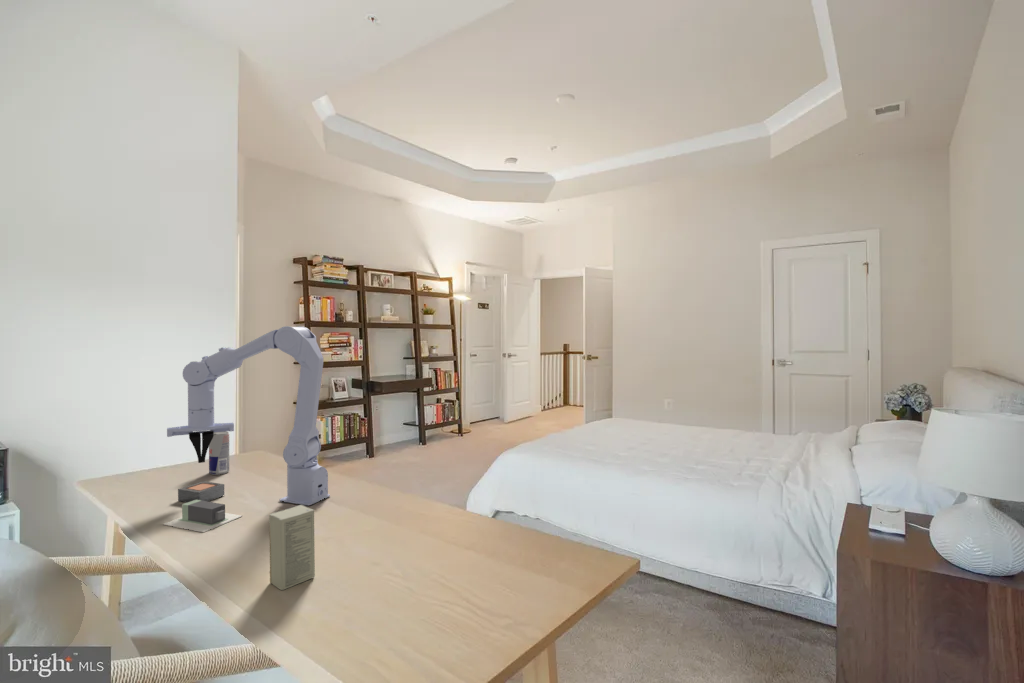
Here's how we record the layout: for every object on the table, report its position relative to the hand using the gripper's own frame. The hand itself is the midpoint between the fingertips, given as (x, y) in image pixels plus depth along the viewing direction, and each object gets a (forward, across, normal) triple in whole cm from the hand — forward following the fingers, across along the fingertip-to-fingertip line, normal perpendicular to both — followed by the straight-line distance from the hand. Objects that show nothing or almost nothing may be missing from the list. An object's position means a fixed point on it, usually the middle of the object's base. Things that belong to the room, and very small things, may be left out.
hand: (201, 461), depth 133 cm
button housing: (+9, 0, 0) cm, 9 cm away
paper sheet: (+9, 0, +18) cm, 20 cm away
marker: (+9, 0, +18) cm, 20 cm away
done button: (+8, 0, 0) cm, 8 cm away
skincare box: (+10, -12, +58) cm, 60 cm away
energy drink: (+10, -5, -24) cm, 27 cm away
